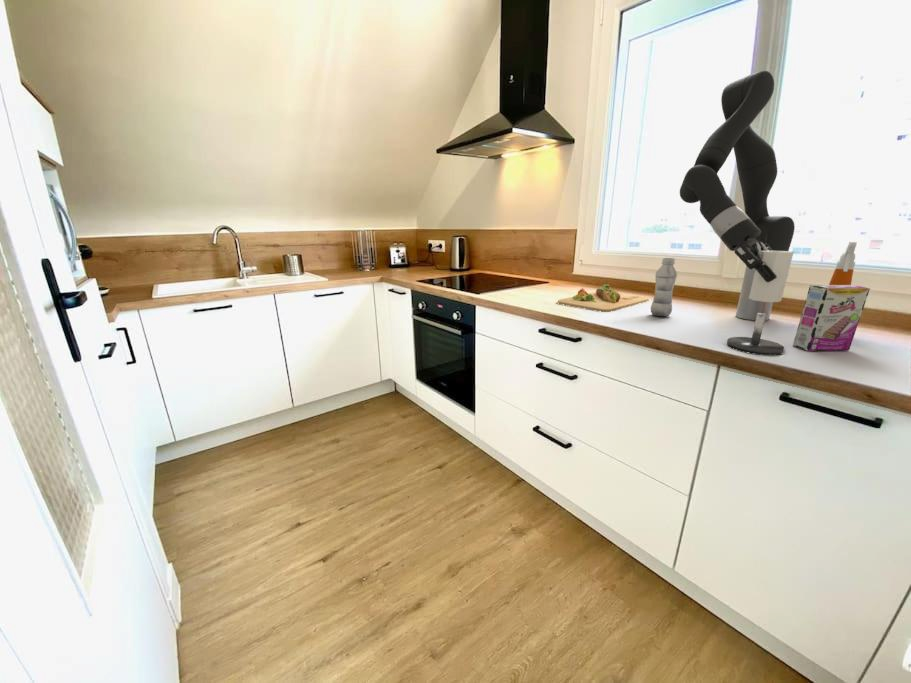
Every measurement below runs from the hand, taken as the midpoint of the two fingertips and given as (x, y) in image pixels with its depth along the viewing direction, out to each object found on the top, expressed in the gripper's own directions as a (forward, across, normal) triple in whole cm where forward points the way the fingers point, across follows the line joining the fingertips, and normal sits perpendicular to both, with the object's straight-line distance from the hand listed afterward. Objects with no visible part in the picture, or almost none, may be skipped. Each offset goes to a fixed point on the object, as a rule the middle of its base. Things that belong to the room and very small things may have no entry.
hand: (778, 278), depth 94 cm
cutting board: (-31, +19, +58) cm, 69 cm away
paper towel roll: (+3, 0, +5) cm, 6 cm away
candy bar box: (+19, +13, +7) cm, 24 cm away
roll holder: (+12, 0, +14) cm, 18 cm away
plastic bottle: (-12, +14, +38) cm, 43 cm away
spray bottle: (+16, +31, +10) cm, 36 cm away
